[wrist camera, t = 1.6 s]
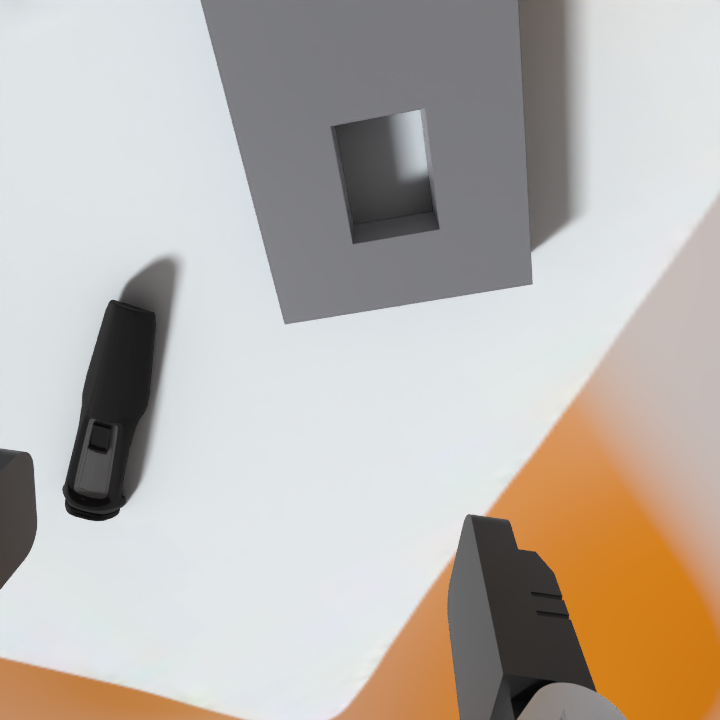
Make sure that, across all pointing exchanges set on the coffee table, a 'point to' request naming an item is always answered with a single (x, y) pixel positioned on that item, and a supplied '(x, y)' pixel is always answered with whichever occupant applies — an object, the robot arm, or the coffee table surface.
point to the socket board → (372, 100)
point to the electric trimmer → (110, 411)
